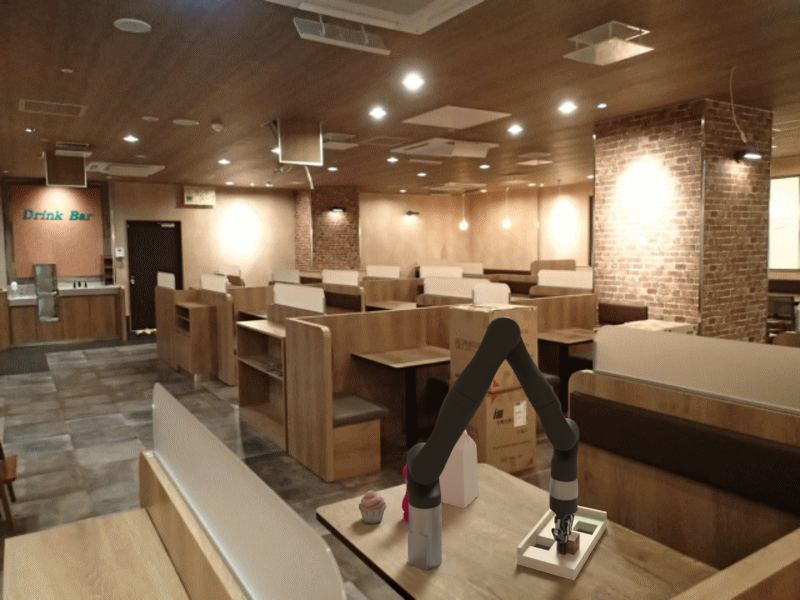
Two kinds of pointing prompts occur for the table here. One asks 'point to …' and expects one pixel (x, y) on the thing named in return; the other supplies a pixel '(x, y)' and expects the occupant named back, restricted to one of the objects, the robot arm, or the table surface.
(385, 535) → the table surface
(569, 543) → the block
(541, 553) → the tray
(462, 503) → the milk
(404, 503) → the pepper mill
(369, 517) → the cupcake
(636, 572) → the table surface
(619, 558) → the table surface
